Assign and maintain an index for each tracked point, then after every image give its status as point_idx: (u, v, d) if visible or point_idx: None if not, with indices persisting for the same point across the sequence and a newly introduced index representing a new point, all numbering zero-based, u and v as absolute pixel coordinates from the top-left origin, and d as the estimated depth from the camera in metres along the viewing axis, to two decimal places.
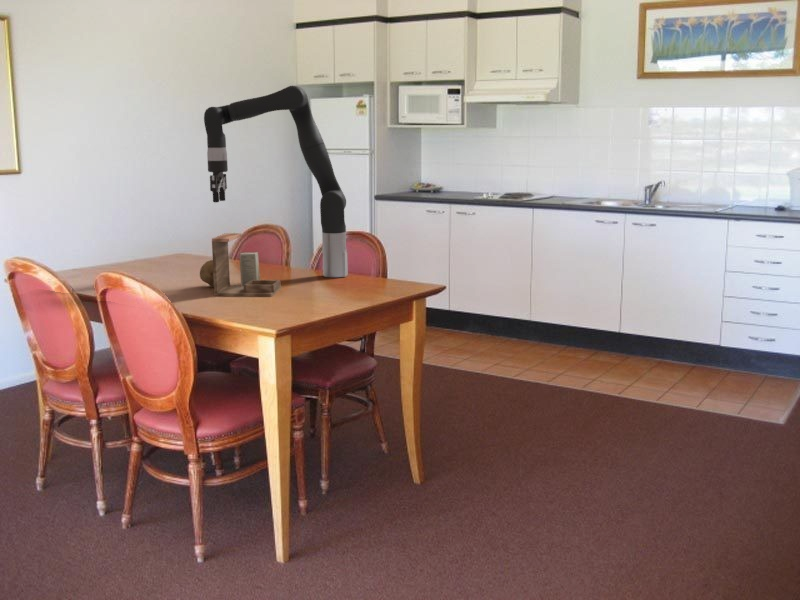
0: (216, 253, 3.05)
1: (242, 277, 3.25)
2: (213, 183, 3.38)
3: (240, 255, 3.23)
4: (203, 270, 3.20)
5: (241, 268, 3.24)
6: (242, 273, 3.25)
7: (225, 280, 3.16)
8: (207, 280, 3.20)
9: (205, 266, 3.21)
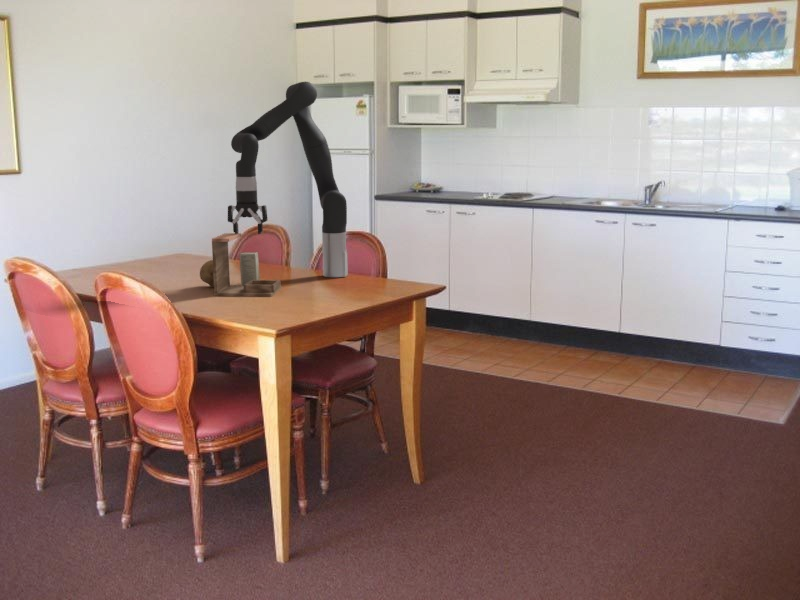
0: (216, 253, 3.05)
1: (242, 277, 3.25)
2: (266, 213, 3.22)
3: (240, 255, 3.23)
4: (203, 270, 3.20)
5: (241, 268, 3.24)
6: (242, 273, 3.25)
7: (225, 280, 3.16)
8: (207, 280, 3.20)
9: (205, 266, 3.21)
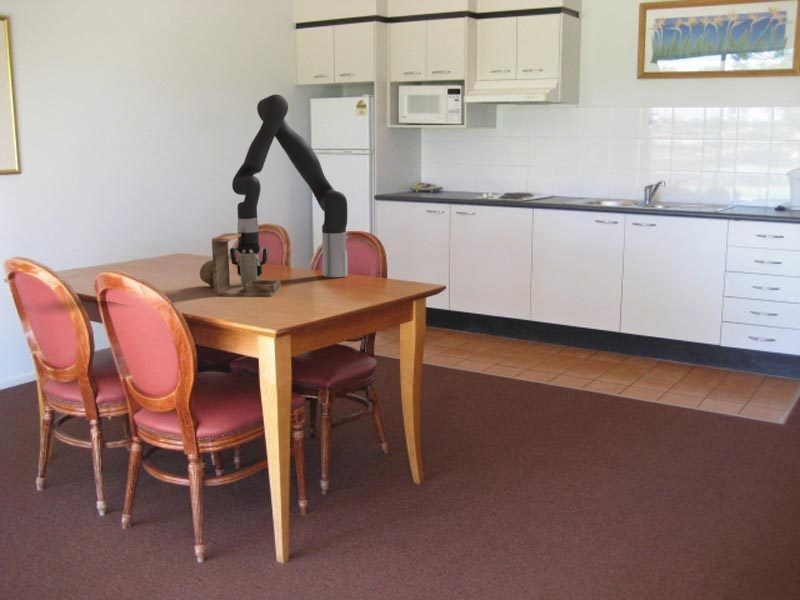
0: (216, 253, 3.05)
1: (242, 277, 3.25)
2: (266, 256, 3.25)
3: (240, 255, 3.23)
4: (203, 270, 3.20)
5: (241, 268, 3.24)
6: (242, 273, 3.25)
7: (225, 280, 3.16)
8: (207, 280, 3.20)
9: (205, 266, 3.21)
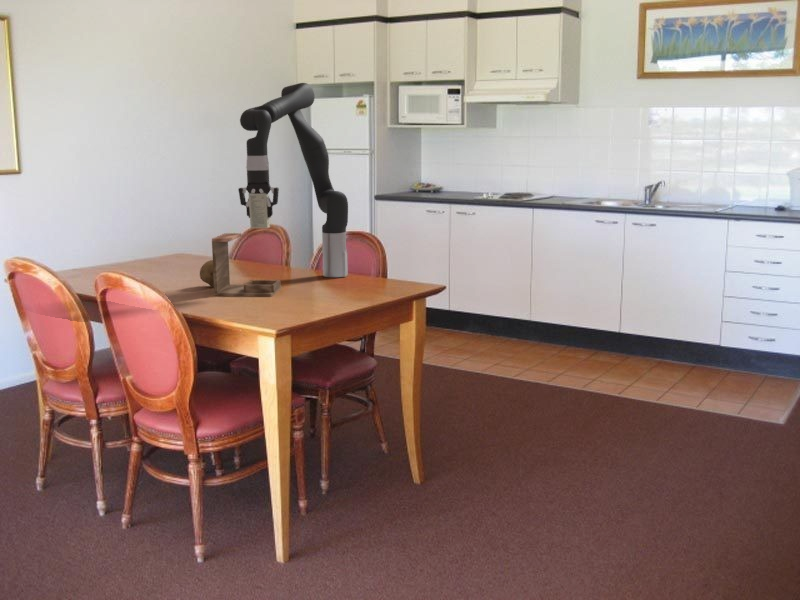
0: (216, 253, 3.05)
1: (252, 218, 3.06)
2: (277, 196, 3.06)
3: (249, 195, 3.05)
4: (203, 270, 3.20)
5: (250, 209, 3.06)
6: (252, 214, 3.06)
7: (225, 280, 3.16)
8: (207, 280, 3.20)
9: (205, 266, 3.21)
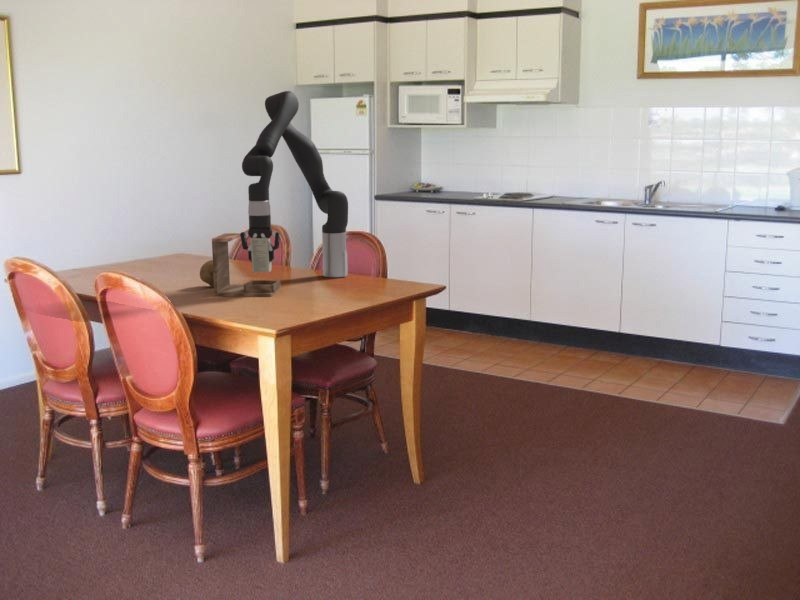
0: (216, 253, 3.05)
1: (253, 262, 3.09)
2: (278, 240, 3.09)
3: (251, 239, 3.08)
4: (203, 270, 3.20)
5: (252, 253, 3.09)
6: (253, 258, 3.09)
7: (225, 280, 3.16)
8: (207, 280, 3.20)
9: (205, 266, 3.21)
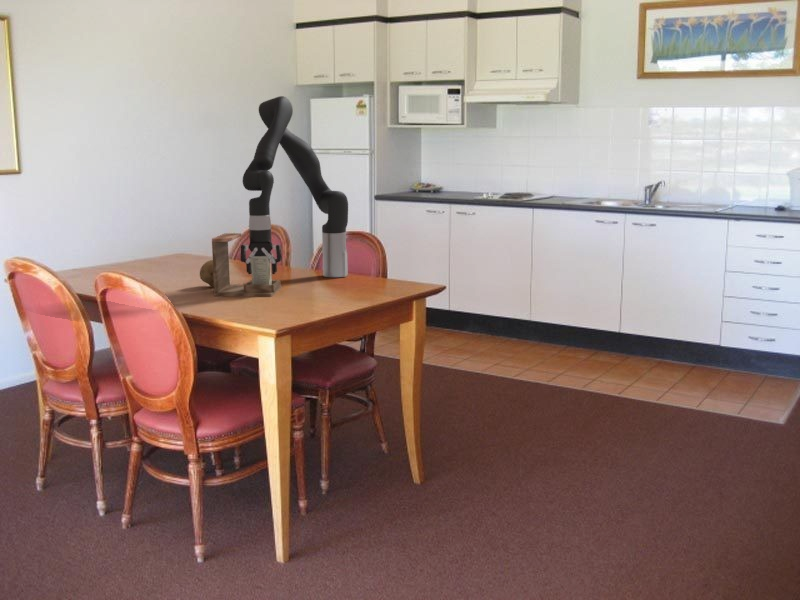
0: (216, 253, 3.05)
1: (254, 280, 3.10)
2: (280, 253, 3.10)
3: (251, 257, 3.09)
4: (203, 270, 3.20)
5: (252, 271, 3.10)
6: (254, 276, 3.10)
7: (225, 280, 3.16)
8: (207, 280, 3.20)
9: (205, 266, 3.21)
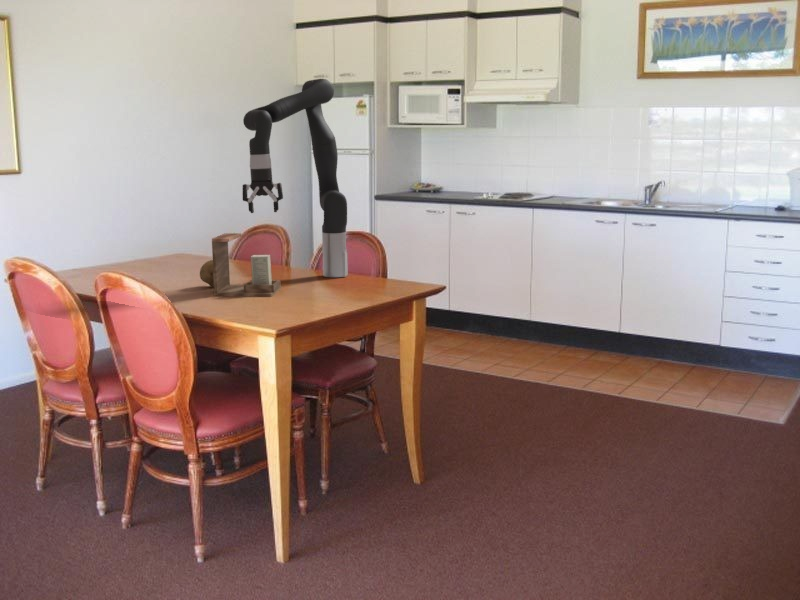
0: (216, 253, 3.05)
1: (254, 280, 3.10)
2: (281, 191, 3.18)
3: (251, 258, 3.09)
4: (203, 270, 3.20)
5: (252, 271, 3.10)
6: (254, 276, 3.10)
7: (225, 280, 3.16)
8: (207, 280, 3.20)
9: (205, 266, 3.21)
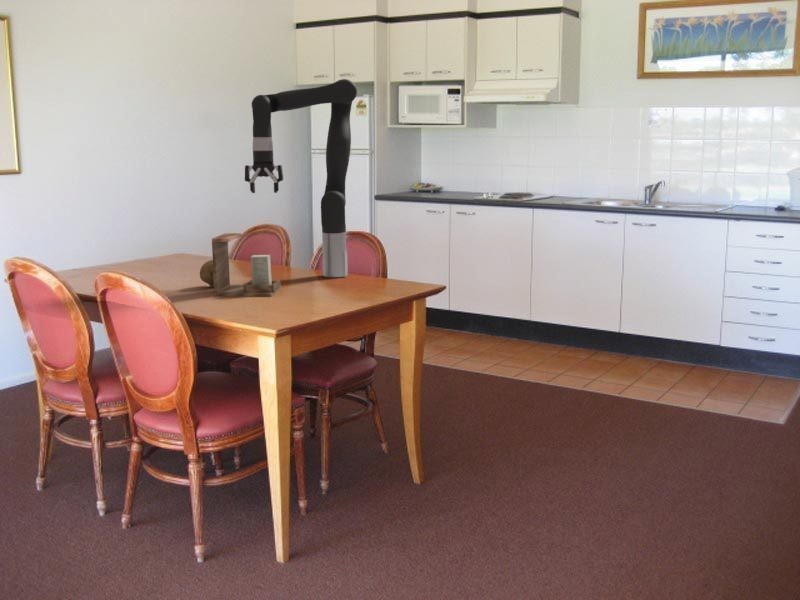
0: (216, 253, 3.05)
1: (254, 280, 3.10)
2: (282, 173, 3.34)
3: (251, 258, 3.09)
4: (203, 270, 3.20)
5: (252, 271, 3.10)
6: (254, 276, 3.10)
7: (225, 280, 3.16)
8: (207, 280, 3.20)
9: (205, 266, 3.21)
